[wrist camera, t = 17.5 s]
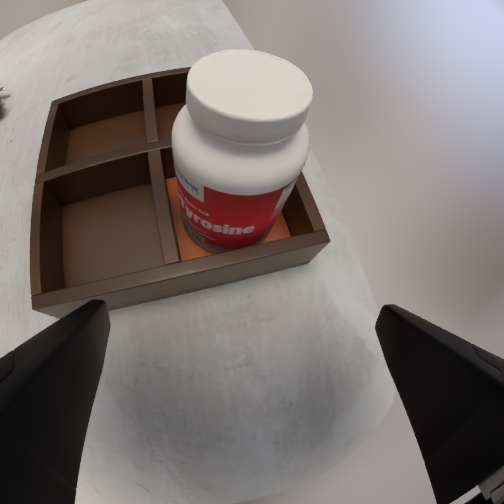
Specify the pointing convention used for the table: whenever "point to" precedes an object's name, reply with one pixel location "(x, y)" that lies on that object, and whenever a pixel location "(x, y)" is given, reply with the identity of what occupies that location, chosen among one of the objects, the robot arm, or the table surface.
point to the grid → (135, 206)
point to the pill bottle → (239, 146)
